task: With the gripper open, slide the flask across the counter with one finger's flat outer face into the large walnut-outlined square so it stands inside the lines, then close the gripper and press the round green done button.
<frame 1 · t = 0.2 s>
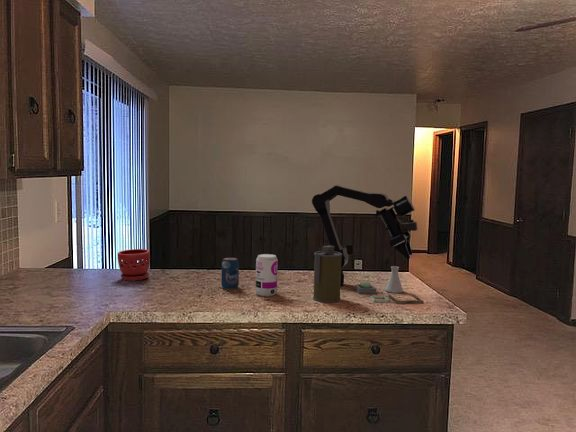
hand: (410, 256, 193), 15 cm above the countertop, tool tilted 30°, fingers open, 9 cm apart
flask: (393, 291, 195), on the countertop
soda can: (230, 288, 195), on the countertop
canister: (326, 299, 181), on the countertop
target outline: (405, 299, 182), on the countertop
plant pot: (134, 279, 207), on the countertop
done button: (365, 285, 194), point 3 cm above the countertop, slide at 0.0 cm
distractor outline: (379, 300, 181), on the countertop
supplement can: (266, 294, 186), on the countertop
button housing: (365, 291, 194), on the countertop
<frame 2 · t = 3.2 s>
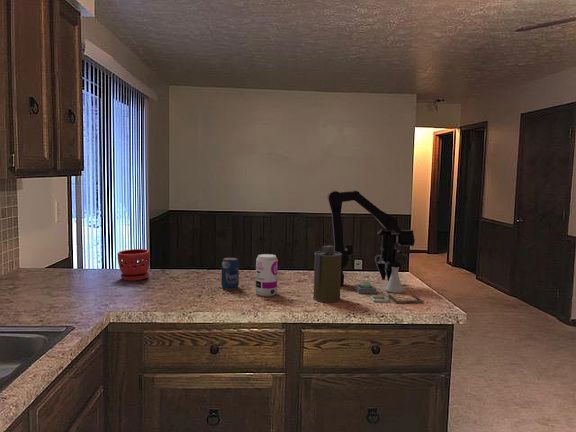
hand: (386, 282, 204), 2 cm above the countertop, tool pointing down, fingers open, 8 cm apart
flask: (393, 291, 195), on the countertop, touching gripper
everything else where it was.
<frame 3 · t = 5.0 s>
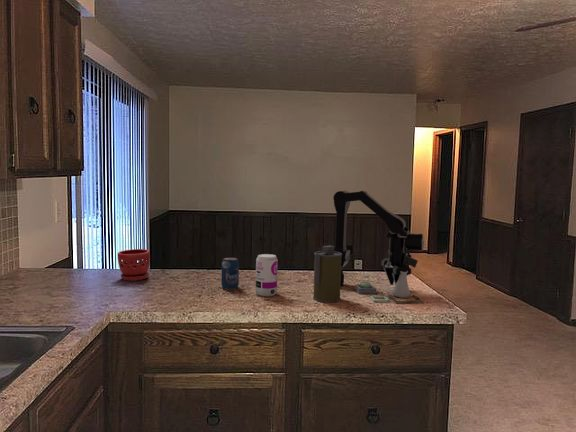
hand: (394, 287, 195), 2 cm above the countertop, tool pointing down, fingers open, 7 cm apart
flask: (400, 294, 188), on the countertop, touching gripper
everything else where it was.
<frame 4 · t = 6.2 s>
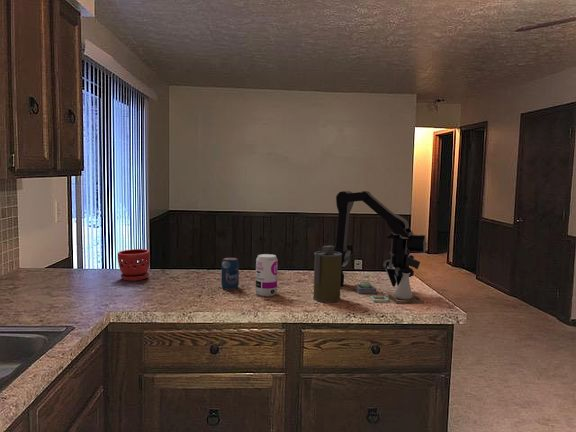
hand: (397, 288, 192), 2 cm above the countertop, tool pointing down, fingers open, 7 cm apart
flask: (403, 296, 185), on the countertop, touching gripper
everything else where it was.
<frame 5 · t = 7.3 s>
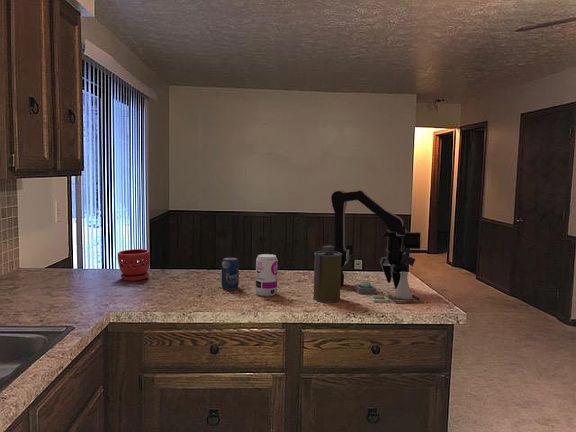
hand: (392, 285, 197), 2 cm above the countertop, tool pointing down, fingers open, 9 cm apart
flask: (402, 298, 185), on the countertop
everything else where it was.
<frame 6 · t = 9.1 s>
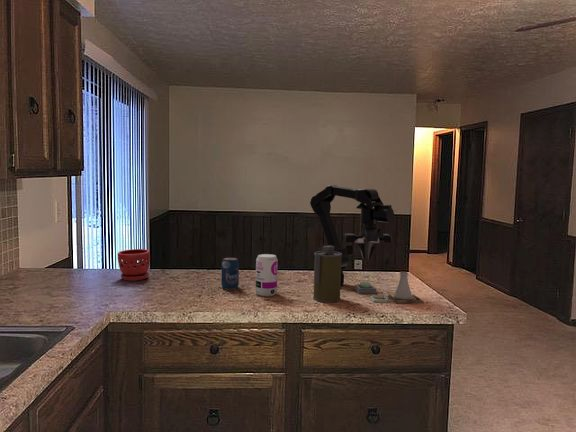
hand: (366, 259, 193), 13 cm above the countertop, tool pointing down, fingers closed
nothing on the countertop moved.
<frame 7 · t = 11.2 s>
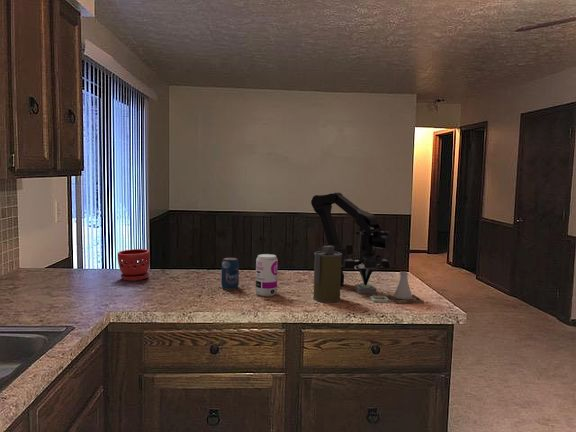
hand: (365, 284, 194), 3 cm above the countertop, tool pointing down, fingers closed, pressing on done button
done button: (365, 287, 194), point 2 cm above the countertop, slide at 0.8 cm, touching gripper
everything else where it was.
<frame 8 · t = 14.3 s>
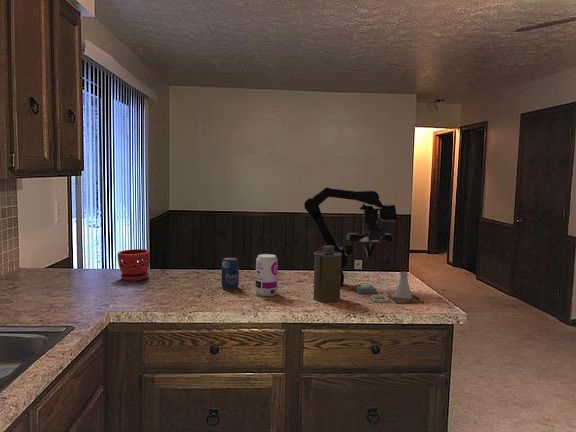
hand: (368, 257, 203), 12 cm above the countertop, tool pointing down, fingers closed
done button: (365, 288, 194), point 1 cm above the countertop, slide at 1.2 cm
everything else where it was.
at the end: flask inside the target area (2.8 cm from its centre), on the countertop; flask tilted 0°; done button slide at 1.2 cm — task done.
